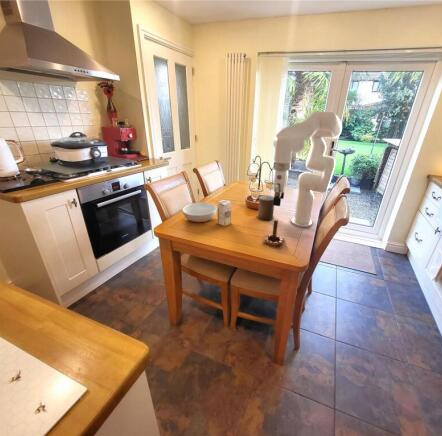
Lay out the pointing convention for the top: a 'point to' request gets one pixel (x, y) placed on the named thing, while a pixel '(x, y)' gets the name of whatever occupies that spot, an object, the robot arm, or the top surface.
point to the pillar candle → (266, 207)
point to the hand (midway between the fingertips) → (278, 201)
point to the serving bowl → (199, 211)
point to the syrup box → (224, 212)
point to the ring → (273, 242)
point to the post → (274, 235)
